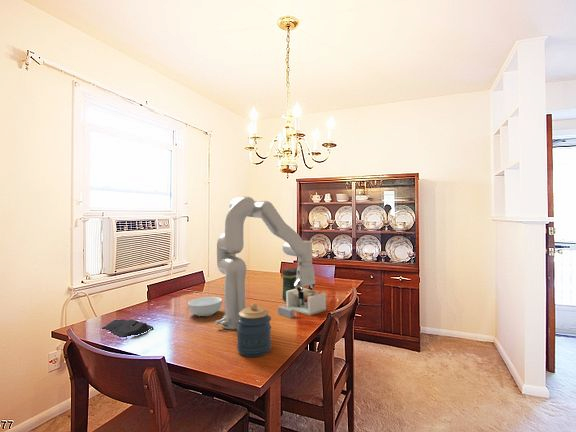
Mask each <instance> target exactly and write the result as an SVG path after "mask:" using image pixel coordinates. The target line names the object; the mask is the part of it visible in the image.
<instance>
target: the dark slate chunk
mask: <svg viewBox="0 0 576 432" xmlns="http://www.w3.org/2000/svg"><path fill="white" fill-rule="evenodd" d="M153 327H154V326H152V325H150V324H147V322H143V321H138V320H134V319H131V318H130V319H128V320H127V319H124V318H123V319H121V318H120V319H114V320H112V321H110V322H109V323H107V324H106V325H105V326H103V327H101V328H102V329H106V330H109V331H111V333H113V334H114V335H117V336H119V337H127V336H131V335H138V334H141V333H144V332H146V331H148V330H149V329H151V328H153Z"/></svg>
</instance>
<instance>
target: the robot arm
mask: <svg viewBox="0 0 576 432" xmlns="http://www.w3.org/2000/svg"><path fill="white" fill-rule="evenodd" d="M247 217H248V218H259V219H261V220H262V222H263V223H264V224H265V226H266V227H267V229H269V231H270V232H271V233H272V234H273V235H274V236H276V237H277V238H280V239H281V240H283V241H284V242H285V243H283V245H282V251H283V253H284V254H285V255H287V256H290V257H291V256H292V257H295V258H296V257H297V263H296V264H297V268H296V269H297V275H296V283H295V284H294V287H295V288H296V289H297V291H298V298H299V299H303V292H302V291H303V288H305V287H307V289H309V290H313V289H314V287H315V285H316V282H317V280H316V276H315V275H316V274H315V268H314V266H313V243H312V241H311V240H303V238H302V237H301V236H300V234H298V232H296V230H294V229H293V228H292V227H291V225H290V226H289V225H288V224H287V223H286V222H285V220H284V219H283V218H282V216H281V215H280V213H279V212H278V210H277V209H276V207H275V206H274V205H273V203H272V202H271V201H268V200H259V201H257V200H255V199H254V198H252V196H251V197H250V196H240V197H234V198H233V199H231V201H230V202H229V210H228V212H227V214H226V217H225V220H224V221H225V222H224V233H222V234H220V236H218V237H219V238H218V239H217V243H216V266H217V270H218V271H219V272H220V273H221V274H223V275H225V279H224V285H223V286H224V291H223V294H224V315H222V318H221V319H217V320H215V322H214V324H215V326H219V325H220V326H221V327H222V328H223V329H226V330H237V327H238V323H237V318H238V317H240V316H239V312H240V311H242V310H243V309H244V308H246V276H247V264H246V262H245V261H244V260H243V259H242V258H241V257H238V256H237V255H236V254H240V253H242V251H243V249H244V244H245V243H244V225H245V220H246V219H247ZM300 288H301V289H300Z"/></svg>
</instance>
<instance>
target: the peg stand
mask: <svg viewBox="0 0 576 432" xmlns="http://www.w3.org/2000/svg"><path fill="white" fill-rule="evenodd" d="M285 302H286V303H285V304H286V305H285V307H288V308H291V309H294V312H295V311H296V312H298V313H302V314H303V315H307V316H312V315H317V314H319V313H322V312H326V311H327V295H326V292H321V293H318V294H317V295H313V296H310V297H308V298H307V300H306V301H305V297H303V299H299V298H298V295H295V294H293V290H289V291H286V301H285Z"/></svg>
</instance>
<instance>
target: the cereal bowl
mask: <svg viewBox="0 0 576 432" xmlns="http://www.w3.org/2000/svg"><path fill="white" fill-rule="evenodd" d="M187 303H188V305H187V306H188V307H187V308H188V310H189V312H190V313H191V314H193V315H195V316H198V317H200V316H207V317H211V316H213V315H214V314H215V313H217V312H218V311H219V310H221V308H222V306H223V299H222V298H221V297H218V296H202V297H197V298H194V299H191V300H189V301H188V302H187Z"/></svg>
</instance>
